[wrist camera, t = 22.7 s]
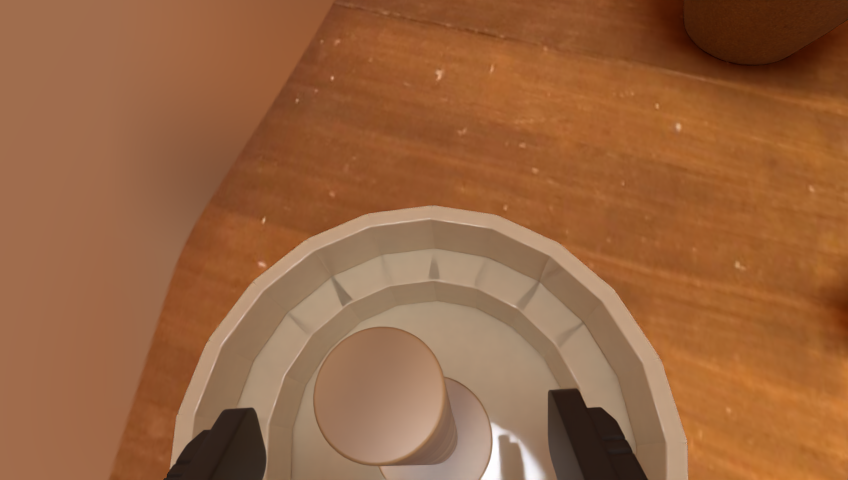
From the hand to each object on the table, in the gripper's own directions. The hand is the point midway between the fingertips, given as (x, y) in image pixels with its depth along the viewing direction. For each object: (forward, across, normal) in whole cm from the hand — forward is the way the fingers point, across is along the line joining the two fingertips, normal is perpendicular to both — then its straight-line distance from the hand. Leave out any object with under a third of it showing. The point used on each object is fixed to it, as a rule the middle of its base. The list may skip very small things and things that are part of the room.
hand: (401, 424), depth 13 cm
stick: (+7, 0, +7) cm, 10 cm away
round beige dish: (+7, 0, +7) cm, 10 cm away
